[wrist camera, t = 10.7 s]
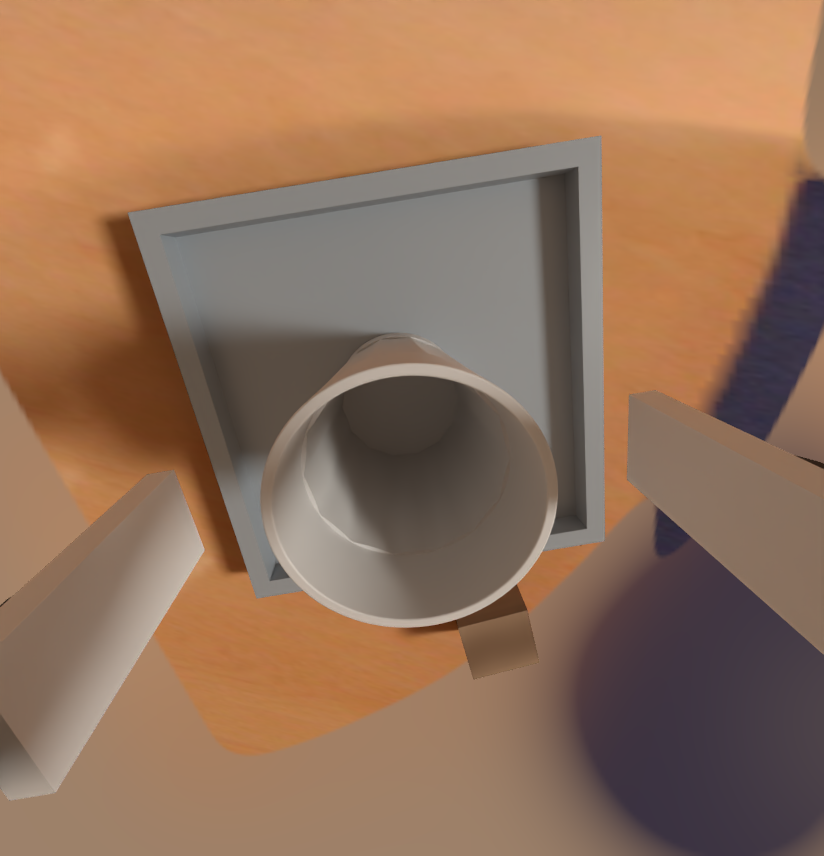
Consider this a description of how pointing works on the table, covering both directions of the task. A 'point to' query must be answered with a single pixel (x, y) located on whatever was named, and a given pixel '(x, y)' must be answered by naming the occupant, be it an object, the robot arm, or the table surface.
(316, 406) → the cup
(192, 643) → the table surface
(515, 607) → the walnut block
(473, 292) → the tray
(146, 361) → the table surface
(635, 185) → the table surface
